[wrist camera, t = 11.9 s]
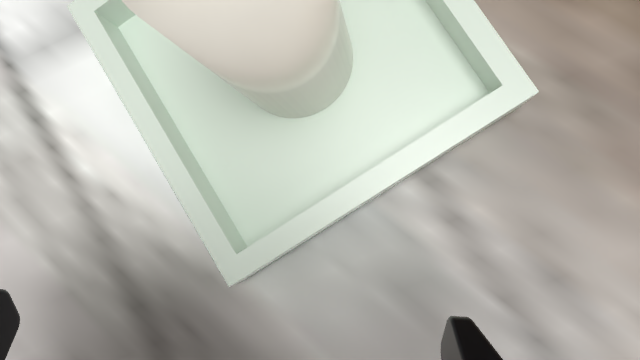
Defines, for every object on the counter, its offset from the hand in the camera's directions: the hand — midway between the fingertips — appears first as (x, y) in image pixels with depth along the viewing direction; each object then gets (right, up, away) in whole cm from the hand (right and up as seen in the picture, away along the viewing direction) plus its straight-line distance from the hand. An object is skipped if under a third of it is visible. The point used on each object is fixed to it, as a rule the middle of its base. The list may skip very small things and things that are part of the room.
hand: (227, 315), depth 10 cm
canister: (+1, +8, +13) cm, 16 cm away
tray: (+1, +8, +13) cm, 16 cm away
